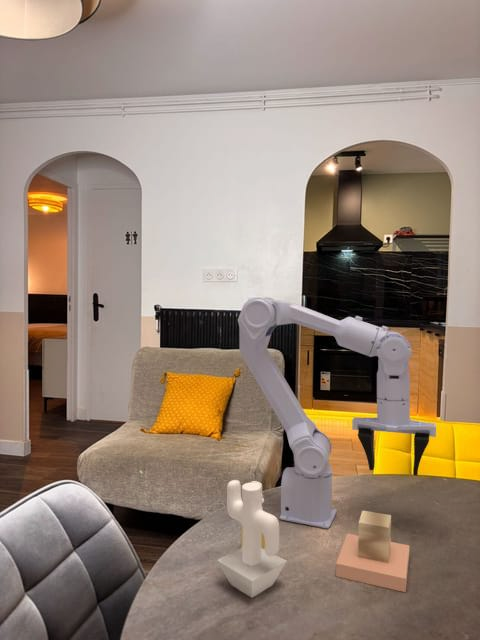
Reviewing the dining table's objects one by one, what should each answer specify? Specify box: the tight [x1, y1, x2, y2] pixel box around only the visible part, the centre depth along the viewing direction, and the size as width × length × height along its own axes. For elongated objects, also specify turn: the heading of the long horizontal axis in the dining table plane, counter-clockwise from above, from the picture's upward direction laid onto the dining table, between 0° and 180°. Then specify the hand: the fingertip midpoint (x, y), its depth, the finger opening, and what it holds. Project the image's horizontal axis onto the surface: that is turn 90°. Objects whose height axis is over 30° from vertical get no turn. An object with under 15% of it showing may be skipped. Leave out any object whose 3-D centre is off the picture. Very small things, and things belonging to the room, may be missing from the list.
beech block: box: [357, 510, 392, 563], centre depth 75 cm, size 4×4×6 cm
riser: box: [335, 533, 410, 593], centre depth 75 cm, size 10×10×2 cm
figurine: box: [216, 479, 287, 599], centre depth 69 cm, size 7×9×15 cm
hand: (393, 471), depth 87 cm, fingers open, 7 cm apart
